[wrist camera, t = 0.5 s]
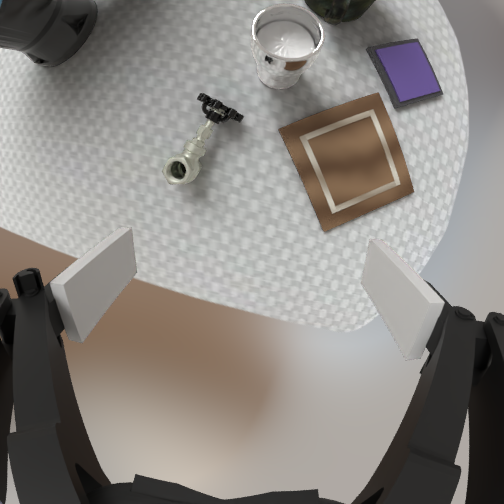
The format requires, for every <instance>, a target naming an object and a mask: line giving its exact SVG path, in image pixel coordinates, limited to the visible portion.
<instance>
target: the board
mask: <svg viewBox="0 0 504 504" xmlns="http://www.w3.org/2000/svg"><path fill="white" fill-rule="evenodd" d="M278 130H279V132H280V134H281V136H282V139H283V141H284V143H285V145H286V147H287V149H288V151H289V153H290V155H291V158H292V160H293V162H294V164H295V166H296V168H297V171H298V173H299V175H300V177H301V180H302V182H303V184H304V186H305V189H306V191H307V193H308V196H309V198H310V200H311V203H312V205H313V207H314V210H315V212H316V215H317V217H318V219H319V222H320V224H321V227H322V229H323V231H324V232H325V231H327V230H329V229H332V228H334V227H336V226H339V225H341V224H343V223H345V222H348V221H350V220H352V219H355V218H357V217H359V216H361V215H364V214H366V213H368V212H370V211H373V210H375V209H377V208H379V207H382V206H384V205H386V204H388V203H391V202H393V201H395V200H397V199H400V198H402V197H404V196H406V195H409V194H411V193H413V192H414V189H413V186H412V182H411V179H410V175H409V172H408V169H407V166H406V162H405V159H404V156H403V153H402V150H401V147H400V145H399V142H398V139H397V136H396V133H395V131H394V128H393V126H392V123H391V120H390V118H389V116H388V113H387V111H386V108H385V106H384V104H383V101H382V99H381V97H380V95H379V92H378V93H375V94H372V95H368V96H365V97H362V98H359V99H356V100H353V101H350V102H347V103H344V104H342V105H339V106H336V107H333V108H330V109H328V110H325V111H322V112H320V113H317V114H314V115H312V116H309V117H307V118H304V119H302V120H299V121H297V122H294V123H292V124H290V125H287V126H285V127H282V128H280V129H278Z"/></svg>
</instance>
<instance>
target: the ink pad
mask: <svg viewBox="0 0 504 504" xmlns="http://www.w3.org/2000/svg"><path fill="white" fill-rule="evenodd" d="M366 50H367V52H368V54H369V56H370V58H371V60H372V61H373V63H374V65H375V67H376V69H377V71H378V73H379V75H380V77H381V79H382V82H383V84H384V86H385V88H386V90H387V92H388V95H389V97H390V99H391V102H392V104H393V106H394V108H398V107H401V106H405V105H408V104H411V103H414V102H418V101H421V100H425V99H428V98H432V97H435V96H439V95H443V92H442V90H441V87H440V85H439V82H438V80H437V78H436V75H435V73H434V71H433V68H432V66H431V64H430V62H429V60H428V58H427V56H426V54H425V52H424V50H423V48H422V46H421V44H420V42H419V40H418V39H411V40H404V41H398V42H393V43H387V44H382V45H378V46H373V47H369V48H368V49H366Z"/></svg>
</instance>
